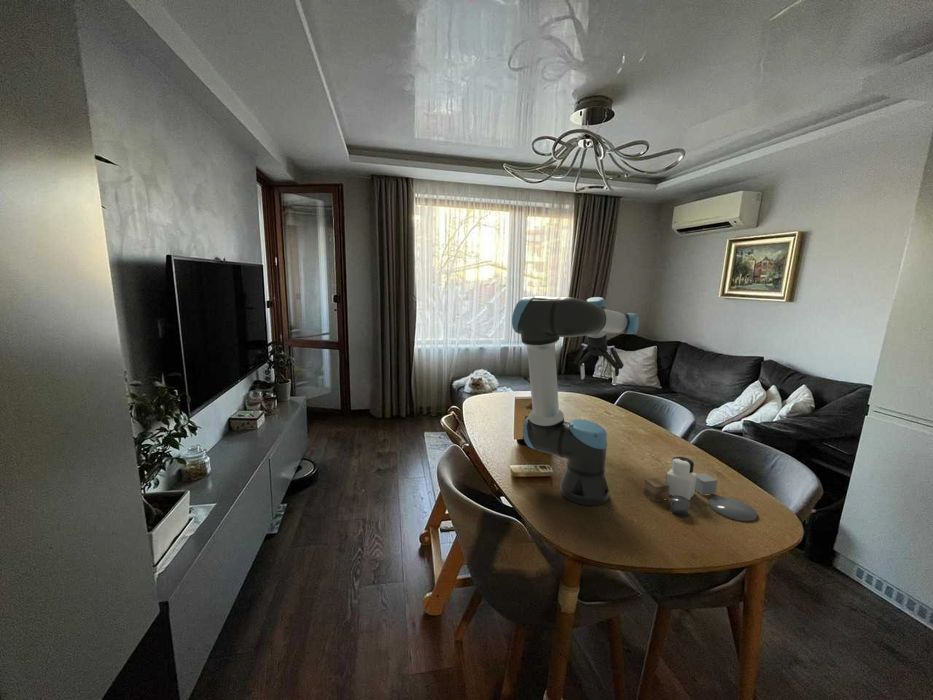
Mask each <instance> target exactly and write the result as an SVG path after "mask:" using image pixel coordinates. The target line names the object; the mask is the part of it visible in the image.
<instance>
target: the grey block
mask: <svg viewBox="0 0 933 700" xmlns="http://www.w3.org/2000/svg"><path fill="white" fill-rule="evenodd" d="M696 474H697V478H696V487H695V490H696V491H697V492H699V493H701V494H702V495H705V494H714V493H716V492H717V485H718V484H717V483H718V480H717V479H715V478H714V477H712V476H711V475H709V474H707V473H696ZM696 491H695V492H696ZM697 492H696V493H697ZM699 493H698V494H699ZM702 495H701V496H702Z"/></svg>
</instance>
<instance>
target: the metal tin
mask: <svg viewBox="0 0 933 700" xmlns="http://www.w3.org/2000/svg"><path fill="white" fill-rule="evenodd" d="M690 502H691V501H690V500H688V499H687V498H685V497H682V496H678V495H673V496H671V495H670V502H669V511H670V513H671V512H672V513H671V514H672V515H675V516H677V517H682V518H685V517H688V516H689V513H690V505H691V503H690Z"/></svg>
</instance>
